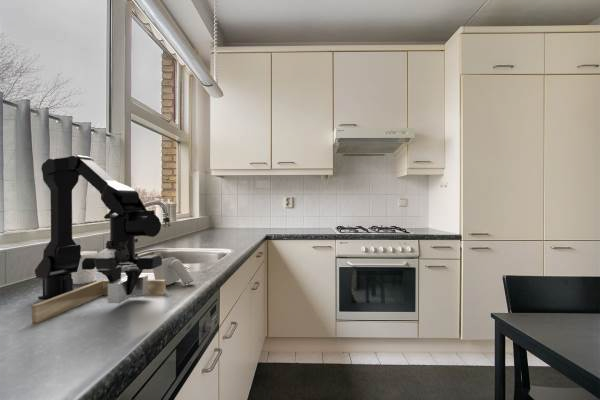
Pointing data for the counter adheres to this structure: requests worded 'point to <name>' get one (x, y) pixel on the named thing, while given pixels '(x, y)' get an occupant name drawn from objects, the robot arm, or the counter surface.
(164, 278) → the wall hook
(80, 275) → the white cup
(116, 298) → the bracket
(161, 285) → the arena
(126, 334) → the counter surface
